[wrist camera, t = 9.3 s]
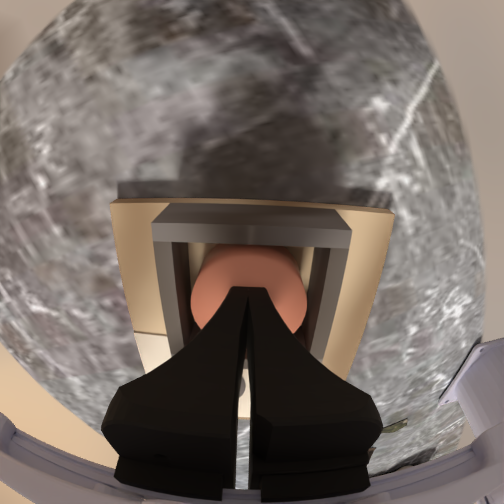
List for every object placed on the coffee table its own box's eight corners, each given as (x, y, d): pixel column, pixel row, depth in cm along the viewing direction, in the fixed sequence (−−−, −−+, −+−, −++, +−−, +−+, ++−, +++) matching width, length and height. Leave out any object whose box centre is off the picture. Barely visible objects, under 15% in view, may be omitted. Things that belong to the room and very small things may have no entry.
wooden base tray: (388, 209, 12) (421, 235, 10) (327, 409, 19) (333, 443, 16) (116, 198, 12) (81, 222, 9) (162, 403, 19) (153, 436, 16)
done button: (305, 237, 12) (314, 258, 10) (294, 322, 14) (298, 350, 12) (196, 232, 12) (186, 253, 10) (202, 319, 14) (195, 346, 12)
